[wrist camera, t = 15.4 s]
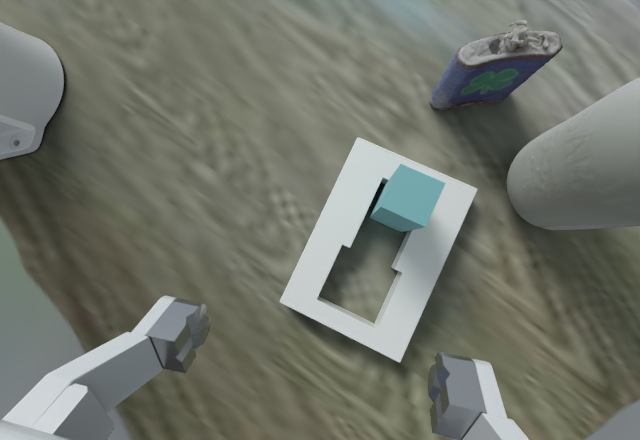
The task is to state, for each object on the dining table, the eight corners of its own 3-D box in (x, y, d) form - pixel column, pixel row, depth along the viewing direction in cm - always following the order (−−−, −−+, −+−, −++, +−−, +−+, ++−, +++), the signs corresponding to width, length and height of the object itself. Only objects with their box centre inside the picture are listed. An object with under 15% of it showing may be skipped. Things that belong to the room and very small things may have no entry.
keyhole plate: (395, 354, 33) (399, 362, 31) (283, 298, 35) (279, 302, 32) (468, 192, 34) (477, 188, 32) (356, 144, 36) (357, 137, 33)
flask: (429, 112, 36) (468, 55, 25) (426, 88, 36) (463, 22, 25) (509, 101, 35) (584, 38, 24) (505, 77, 35) (577, 5, 25)
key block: (401, 232, 35) (425, 227, 25) (369, 217, 35) (380, 206, 25) (415, 201, 35) (445, 183, 25) (383, 186, 35) (400, 163, 25)
